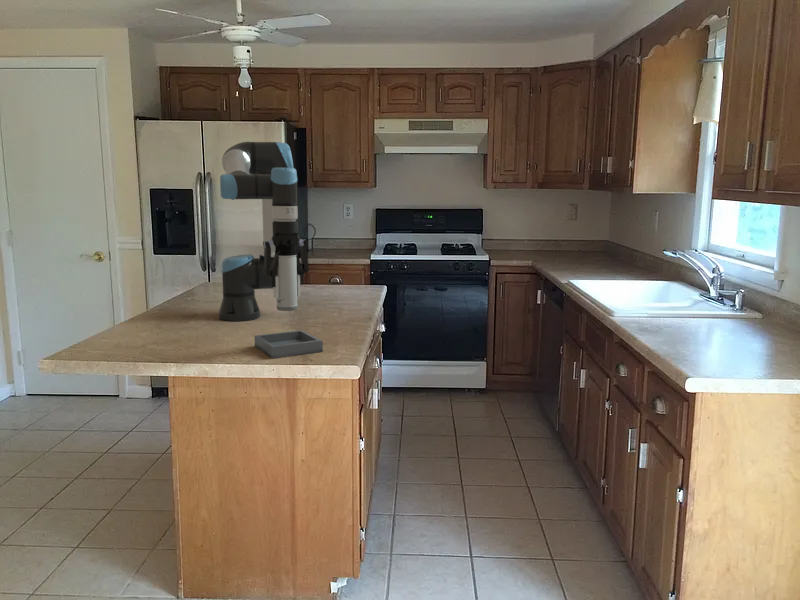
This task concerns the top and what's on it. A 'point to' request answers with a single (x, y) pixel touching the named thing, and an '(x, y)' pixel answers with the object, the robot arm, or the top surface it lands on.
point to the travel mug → (287, 278)
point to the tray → (288, 344)
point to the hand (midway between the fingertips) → (287, 296)
